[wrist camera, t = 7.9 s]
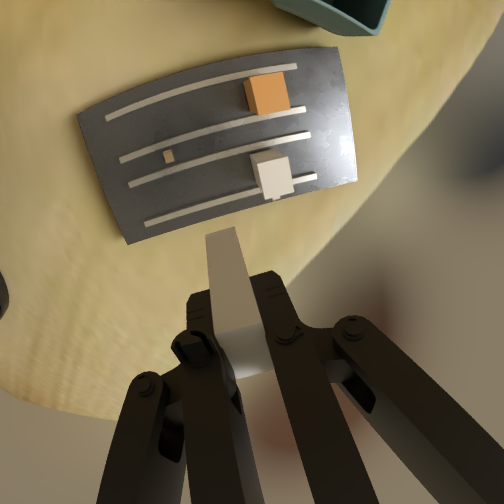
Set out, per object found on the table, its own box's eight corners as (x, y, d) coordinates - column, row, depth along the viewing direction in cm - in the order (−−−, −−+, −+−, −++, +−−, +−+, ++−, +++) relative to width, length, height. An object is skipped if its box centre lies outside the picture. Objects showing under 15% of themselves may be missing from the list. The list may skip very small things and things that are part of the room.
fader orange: (249, 113, 23) (258, 115, 19) (241, 81, 21) (249, 77, 18) (276, 107, 23) (290, 109, 20) (269, 75, 22) (282, 71, 18)
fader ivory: (255, 184, 27) (264, 199, 23) (248, 153, 25) (257, 163, 21) (280, 177, 27) (294, 192, 23) (274, 147, 25) (287, 156, 22)
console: (131, 236, 30) (126, 247, 28) (84, 113, 22) (73, 115, 19) (348, 175, 30) (359, 182, 28) (329, 49, 22) (340, 46, 20)
